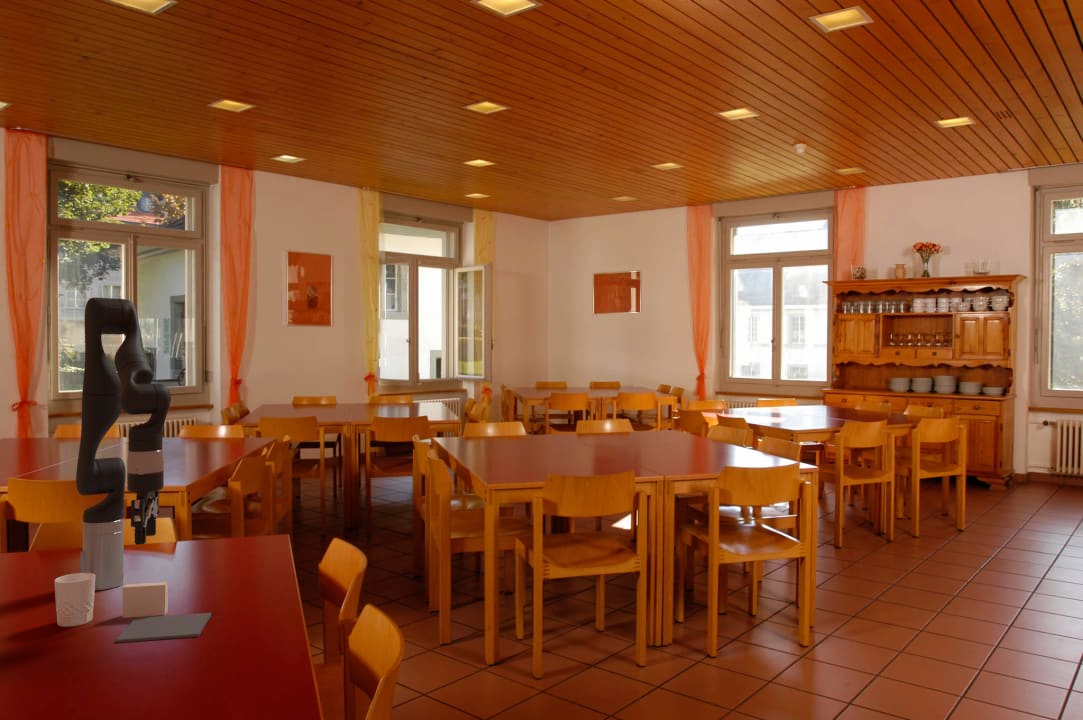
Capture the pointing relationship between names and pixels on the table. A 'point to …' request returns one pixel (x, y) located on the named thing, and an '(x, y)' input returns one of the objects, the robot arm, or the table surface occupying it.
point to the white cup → (74, 599)
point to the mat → (164, 627)
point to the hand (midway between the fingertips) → (145, 539)
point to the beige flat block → (145, 599)
